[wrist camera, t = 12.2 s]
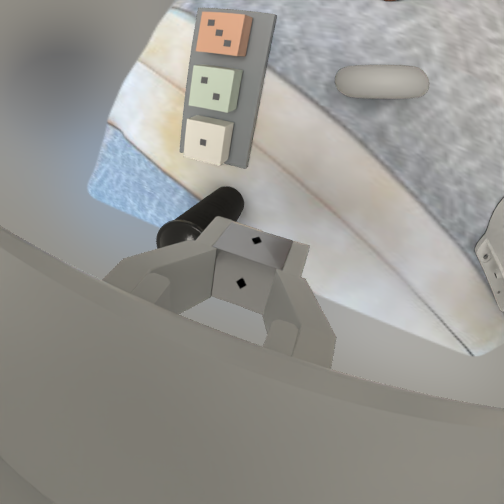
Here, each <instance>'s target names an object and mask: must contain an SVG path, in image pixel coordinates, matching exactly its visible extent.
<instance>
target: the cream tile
mask: <svg viewBox="0 0 504 504" xmlns="http://www.w3.org/2000/svg"><path fill="white" fill-rule="evenodd" d="M233 124H234V122H229V121H224V120H220V119H215V118H210V117H205V116H200V115H196V116H193V117H191V118H188V119H187V123H186V133H185V144H184V155H183V157H186V158H190V159H194V160H198V161H202V162H206V163H210V164H214V165H218V166H220V165H222V164H223V163H224V162H225V161H227V160H228V156H229V150H230V143H231V137H232V131H233Z"/></svg>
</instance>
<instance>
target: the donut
mask: <svg viewBox="0 0 504 504" xmlns="http://www.w3.org/2000/svg"><path fill="white" fill-rule="evenodd" d="M335 84H336V87H337V89H338V90H339V91H340V92H341V93H342V94H344V95H346V96H348V97H355V98H373V99H408V98H419V97H421V96H424V95H425V94H426V93H427V91H428V89H429V79H428V77H427V75H426V73H425V72H424V71H423V70H421V69H420V68H418V67H414V66H406V65H356V66H348V67H344V68H342V69H340V70H339V71H338V72H337V74H336V76H335Z"/></svg>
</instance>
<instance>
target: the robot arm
mask: <svg viewBox="0 0 504 504" xmlns="http://www.w3.org/2000/svg"><path fill="white" fill-rule="evenodd" d="M309 248H310V246H309V245H306V244H303V243H299V242H296V241H294V242H293V241H292V240H289V239H286V238H282V237H279V236H276V235H273V234H269V233H266V232H263V231H261V230H258V229H256V228H253V227H250V226H247V225H244V224H241V223H238V222H235V221H232V220H230V219H226V218H223V217H220V216H218V217H215V218H214V220H213V221H212V222H211V223H210V224H209V225H208V226H207V228H206V229H205V230H204V231H203V232H202V233H201V235H200V236H199V237H198V238H197V239H196V240H195V241H194V240H187V241H184V242H180V243H176V244H173V245H169V246H166V247H162V248H159V249H155V250H152V251H148V252H144V253H141V254H138V255H134V256H131V257H127V258H124V259H123V260H121V261H120V262H119V264H117V265H116V266H115V268H113V269H112V270H111V271H110V272H109V274H107V275H106V276H105V278H103V279H102V280H101V279H99V278H96V277H94V276H92V275H90V274H88V273H86V272H84V271H82V270H80V269H78V268H76V267H74V266H72V265H70V264H68V263H67V262H65V261H63V260H61V259H59V258H57V257H55V256H53V255H51V254H49V253H47V252H46V251H44V250H42V249H40V248H38V247H37V246H35V245H33V244H31V243H29V242H28V241H26V240H24V239H22V238H20V237H19V236H17V235H15V234H13V233H12V232H10V231H8V230H7V229H5V228H3V227H2V226H0V504H504V408H497V407H491V406H485V405H479V404H473V403H468V402H463V401H457V400H452V399H448V398H442V397H438V396H433V395H428V394H424V393H420V392H415V391H411V390H407V389H403V388H399V387H395V386H391V385H387V384H382V383H379V382H375V381H371V380H367V379H364V378H360V377H357V376H353V375H349V374H346V373H343V372H339V371H336V370H333V369H331V366H332V360H333V354H334V349H335V342H336V336H335V334H334V332H333V330H332V328H331V326H330V324H329V322H328V320H327V318H326V316H325V314H324V313H323V311H322V309H321V307H320V305H319V303H318V301H317V299H316V298H315V296H314V294H313V292H312V290H311V288H310V286H309V284H308V283H307V281H306V279H305V278H302V277H301V275H302V272H303V269H304V265H305V262H306V259H307V255H308V252H309ZM475 253H476V255H477V257H478V259H479V262H480V264H481V266H482V268H483V271H484V273H485V275H486V278H487V280H488V282H489V285H490V287H491V290H492V292H493V295H494V297H495V300H496V302H497V305H498V307H499V309H500V311H502V312H504V198H503V199H502V200H501V202H500V203H499V204H498V206H497V207H496V209H495V211H494V213H493V215H492V217H491V219H490V222H489V225H488V228H487V231H486V233H485V234H484V235H483V237H482V238H481V239H480V240H479V242H478V243H477V245H476V247H475ZM486 254H487V255H486ZM484 255H486V256H485V257H484ZM211 296H212V297H215V298H218V299H221V300H224V301H227V302H230V303H233V304H236V305H238V306H241V307H243V308H246V309H248V310H251V311H254V312H256V313H259V314H262V315H263V319H264V324H265V327H266V331H267V337H266V340H265V342H264V344H263V347H262V346H259V345H257V344H254V343H251V342H248V341H245V340H243V339H240V338H237V337H235V336H232V335H229V334H226V333H224V332H221V331H219V330H216V329H214V328H211V327H209V326H206V325H203V324H201V323H198V322H196V321H193V320H191V319H188V318H186V317H184V316H181V315H179V314H180V313H182V312H184V311H186V310H188V309H190V308H192V307H193V306H195V305H197V304H199V303H201V302H203V301H205V300H206V299H208V298H210V297H211Z"/></svg>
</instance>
